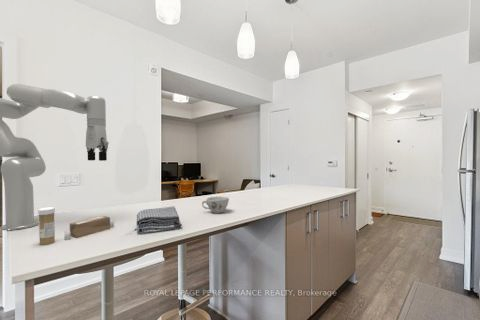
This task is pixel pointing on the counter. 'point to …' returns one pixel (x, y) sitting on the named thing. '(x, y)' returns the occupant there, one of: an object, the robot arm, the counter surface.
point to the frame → (89, 226)
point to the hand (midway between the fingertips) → (97, 160)
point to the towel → (157, 220)
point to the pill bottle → (46, 225)
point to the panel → (67, 235)
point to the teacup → (216, 204)
